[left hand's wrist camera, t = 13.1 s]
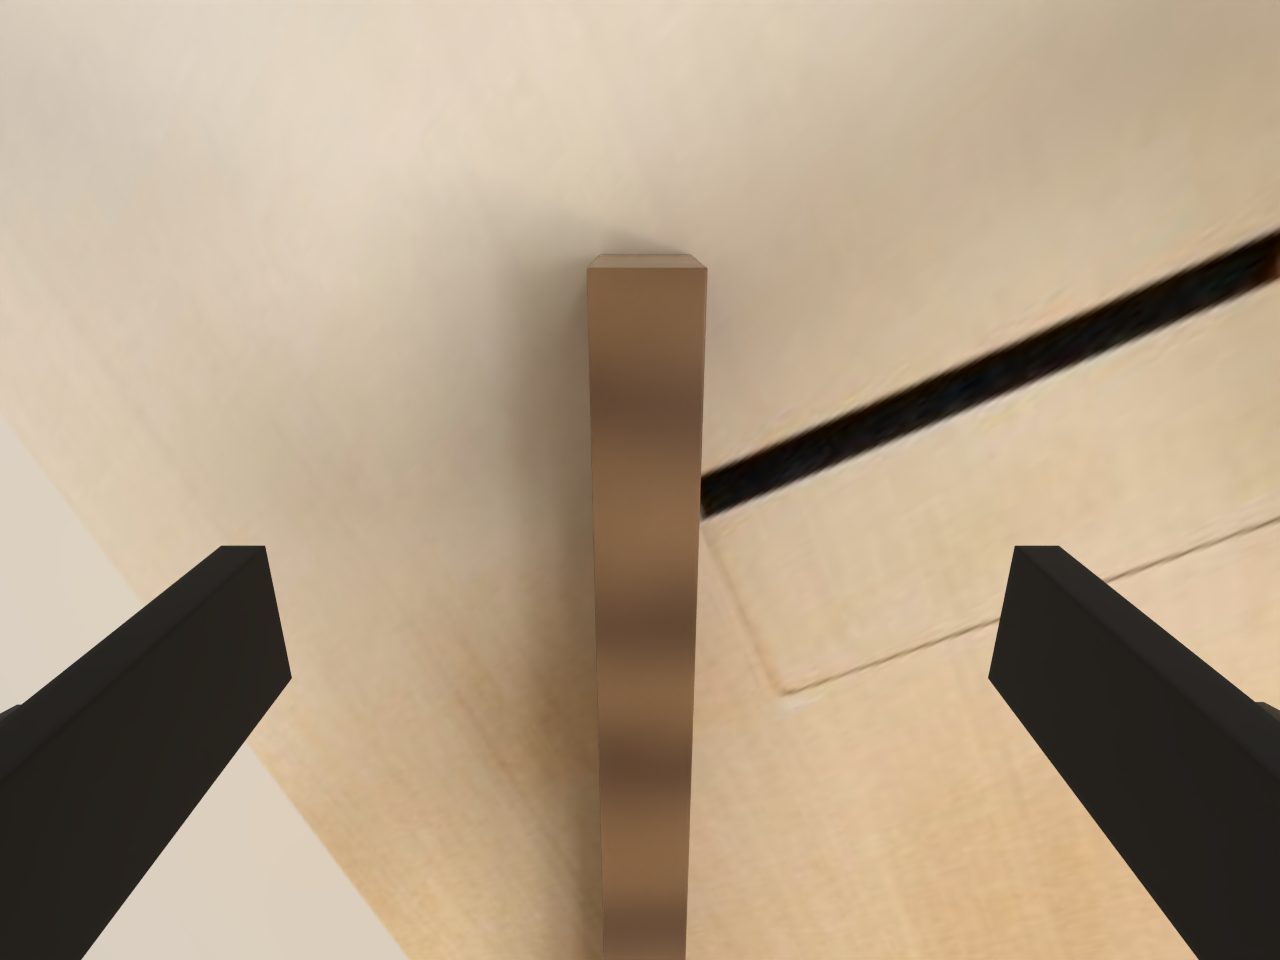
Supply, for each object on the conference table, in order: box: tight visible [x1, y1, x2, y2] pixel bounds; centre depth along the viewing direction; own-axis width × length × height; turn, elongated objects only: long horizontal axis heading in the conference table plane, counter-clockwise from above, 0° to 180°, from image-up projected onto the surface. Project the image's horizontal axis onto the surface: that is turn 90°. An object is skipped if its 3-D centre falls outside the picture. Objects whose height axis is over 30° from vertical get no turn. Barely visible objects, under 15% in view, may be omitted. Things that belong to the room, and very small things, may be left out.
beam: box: [587, 255, 707, 960], centre depth 43 cm, size 69×4×9 cm, turn 0°
